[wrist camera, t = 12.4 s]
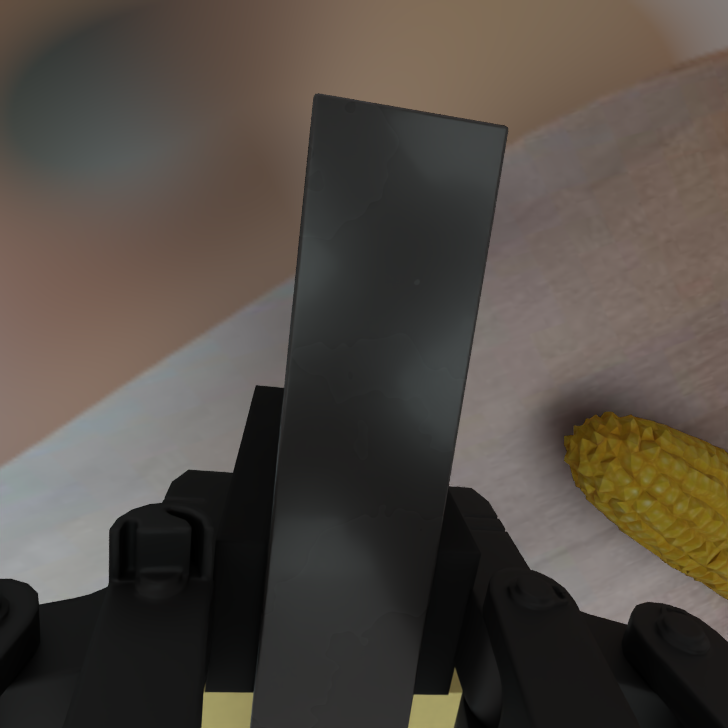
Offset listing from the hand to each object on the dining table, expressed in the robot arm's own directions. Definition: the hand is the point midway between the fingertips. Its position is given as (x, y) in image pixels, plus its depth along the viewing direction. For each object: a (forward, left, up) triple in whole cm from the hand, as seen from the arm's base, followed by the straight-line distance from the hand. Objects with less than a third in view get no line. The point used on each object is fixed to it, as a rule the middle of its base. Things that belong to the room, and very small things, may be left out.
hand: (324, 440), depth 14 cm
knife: (+5, 0, 0) cm, 5 cm away
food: (+5, +20, -7) cm, 21 cm away
